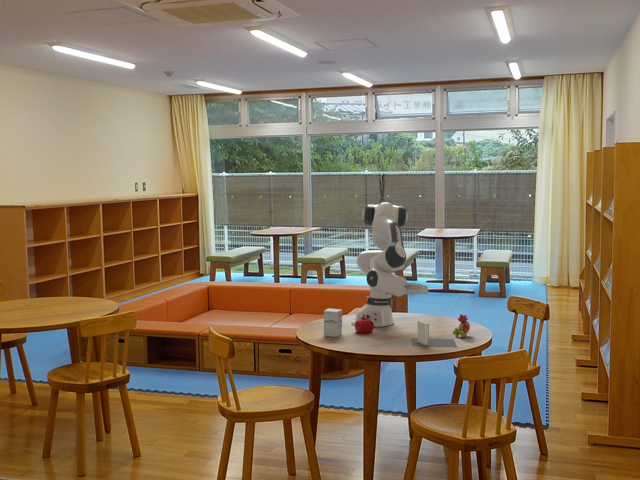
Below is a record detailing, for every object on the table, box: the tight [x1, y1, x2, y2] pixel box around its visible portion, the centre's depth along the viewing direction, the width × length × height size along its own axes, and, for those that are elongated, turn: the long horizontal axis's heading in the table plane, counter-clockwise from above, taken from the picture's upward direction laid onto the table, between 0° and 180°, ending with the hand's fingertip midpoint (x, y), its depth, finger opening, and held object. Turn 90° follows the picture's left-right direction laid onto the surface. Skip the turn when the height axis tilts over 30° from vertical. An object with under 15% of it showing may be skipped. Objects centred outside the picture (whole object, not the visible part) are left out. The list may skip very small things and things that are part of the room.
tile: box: [417, 319, 430, 345], centre depth 305 cm, size 2×7×10 cm, turn 19°
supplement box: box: [323, 307, 343, 338], centre depth 323 cm, size 7×7×13 cm
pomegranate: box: [354, 314, 375, 335], centre depth 330 cm, size 10×10×9 cm
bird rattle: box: [452, 314, 471, 338], centre depth 322 cm, size 6×11×9 cm
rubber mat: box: [411, 337, 458, 348], centre depth 307 cm, size 20×16×1 cm
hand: (419, 292), depth 301 cm, fingers open, 8 cm apart
